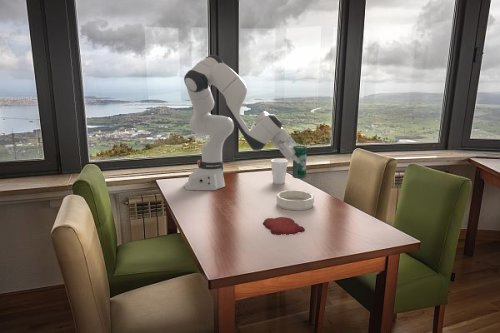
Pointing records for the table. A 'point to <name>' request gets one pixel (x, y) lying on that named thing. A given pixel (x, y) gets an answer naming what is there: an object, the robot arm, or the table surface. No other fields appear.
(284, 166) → the foam cup
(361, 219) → the table surface
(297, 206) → the bowl
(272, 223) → the red flat splat
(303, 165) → the can
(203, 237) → the table surface
